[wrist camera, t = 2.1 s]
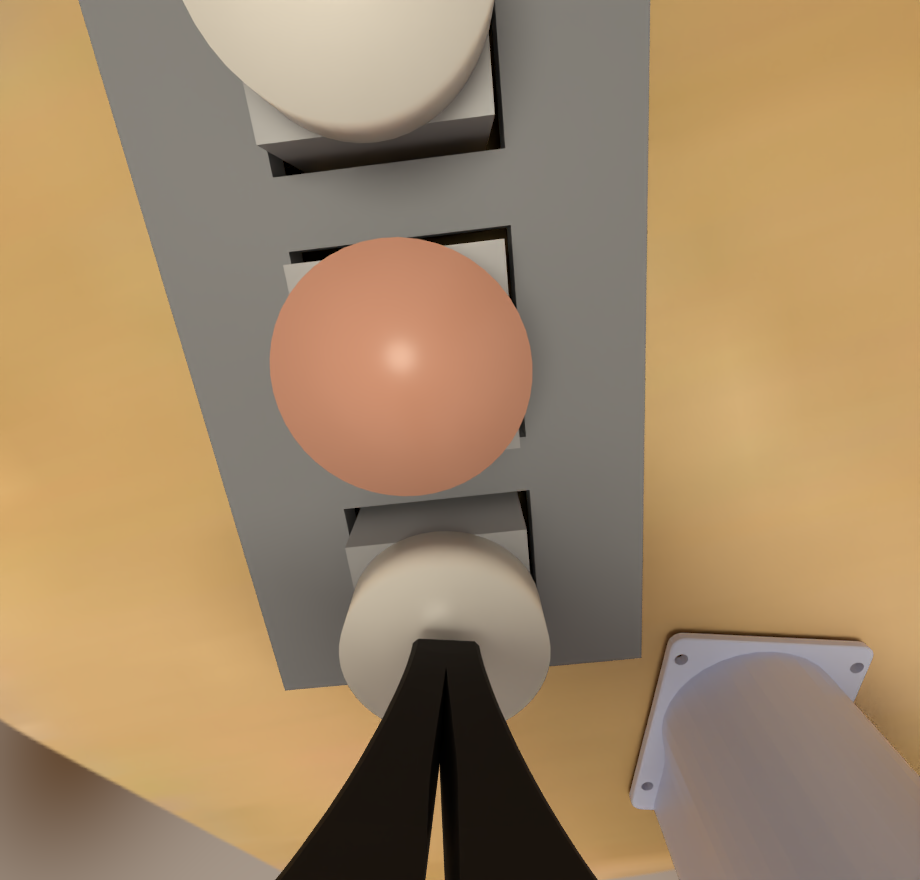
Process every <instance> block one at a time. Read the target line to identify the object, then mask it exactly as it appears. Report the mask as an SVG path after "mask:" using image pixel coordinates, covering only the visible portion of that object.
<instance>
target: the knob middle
mask: <svg viewBox="0 0 920 880" xmlns="http://www.w3.org/2000/svg"><path fill="white" fill-rule="evenodd" d="M283 267H284V272H285V277H286V281H287V286H288V290H289V296H288V297H287V299H286V301H285V303H284V305H283V306H282V308H281V311H280V313H279V316H278V318H277V321H276V324H275V327H274V331H273V336H272V340H271V348H270V377H271V383H272V388H273V393H274V396H275V400H276V403H277V406H278V409H279V411H280V413H281V416H282V418H283V420H284V422H285V424H286V426H287V427H288V429H289V431H290V432H291V434H292V435H293V437H294V438H295V440H296V441H297V442H298V443H299V445H300V446H301V447H302V448H303V450H304V451H305V452H306V453H307V454H308V455H309V456H310V457H311V458H312V459H313V460H314V461H315V462H316V463H318V464H319V465H320V466H322V467H323V468H324V469H325V470H327V471H328V472H329V473H331V474H333V475H334V476H336V477H338V478H339V479H341V480H343V481H345V482H347V483H349V484H351V485H354V486H356V487H358V488H361V489H365V490H368V491H371V492H375V493H380V494H385V495H393V496H420V495H427V494H433V493H437V492H441V491H444V490H448V489H451V488H453V487H455V486H458V485H460V484H462V483H465V482H466V481H468V480H470V479H472V478H473V477H475V476H477V475H478V474H480V473H481V472H482V471H484V470H485V469H486V468H487V467H489V466H490V465H491V464H492V463H493V462H494V461H495V460H496V459H497V458H498V457H499V456H500V455H501V454H502V453H503V452H504V450H506V449H515V448H520V437H519V428H520V425H521V423H522V421H523V418H524V416H525V413H526V410H527V407H528V403H529V399H530V394H531V387H532V356H531V349H530V344H529V340H528V337H527V333H526V329H525V327H524V324H523V322H522V320H521V317H520V315H519V313H518V311H517V309H516V308H515V306H514V304H513V302H512V301H511V299H510V297H509V293H508V280H507V267H506V254H505V241H504V239H496V240H488V241H479V242H471V243H463V244H455V245H446V246H442V245H440V244H437V243H433V242H429V241H425V240H421V239H414V238H404V237H390V238H377V239H372V240H367V241H362V242H359V243H356V244H353V245H350V246H348V247H345V248H343V249H341V250H339V251H337V252H335V253H333V254H331V255H329V256H328V257H326V258H325V259H323V260H322V261H313V262H305V263H297V264H288V265H283Z"/></svg>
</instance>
